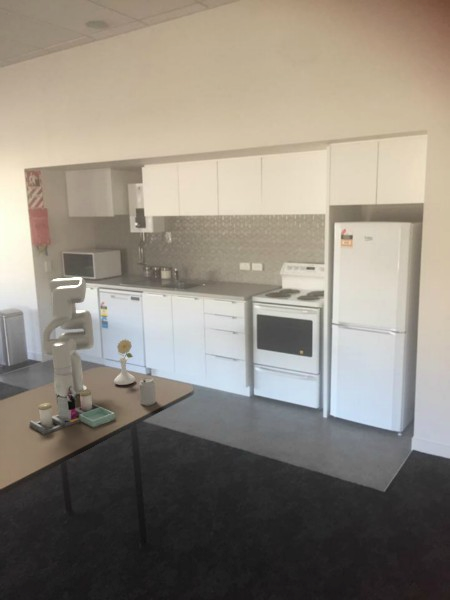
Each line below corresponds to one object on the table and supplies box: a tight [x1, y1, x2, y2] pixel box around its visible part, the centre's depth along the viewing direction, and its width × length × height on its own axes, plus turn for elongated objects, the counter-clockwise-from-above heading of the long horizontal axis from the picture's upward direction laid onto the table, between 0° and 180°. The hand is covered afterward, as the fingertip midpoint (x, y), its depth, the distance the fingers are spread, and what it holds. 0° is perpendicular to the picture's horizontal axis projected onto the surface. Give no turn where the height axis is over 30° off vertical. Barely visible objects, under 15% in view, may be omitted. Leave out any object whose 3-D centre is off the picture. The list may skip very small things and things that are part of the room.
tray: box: [78, 406, 116, 428], centre depth 226 cm, size 11×11×3 cm
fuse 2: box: [79, 389, 93, 412], centre depth 234 cm, size 5×5×10 cm
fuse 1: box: [38, 402, 54, 430], centre depth 220 cm, size 5×5×10 cm
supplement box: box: [56, 396, 77, 423], centre depth 227 cm, size 6×6×12 cm
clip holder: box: [28, 402, 101, 435], centre depth 228 cm, size 13×30×2 cm, turn 137°
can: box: [138, 377, 157, 407], centre depth 242 cm, size 8×8×12 cm
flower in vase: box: [113, 338, 136, 386], centre depth 270 cm, size 13×11×25 cm
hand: (66, 406), depth 226 cm, fingers open, 9 cm apart
